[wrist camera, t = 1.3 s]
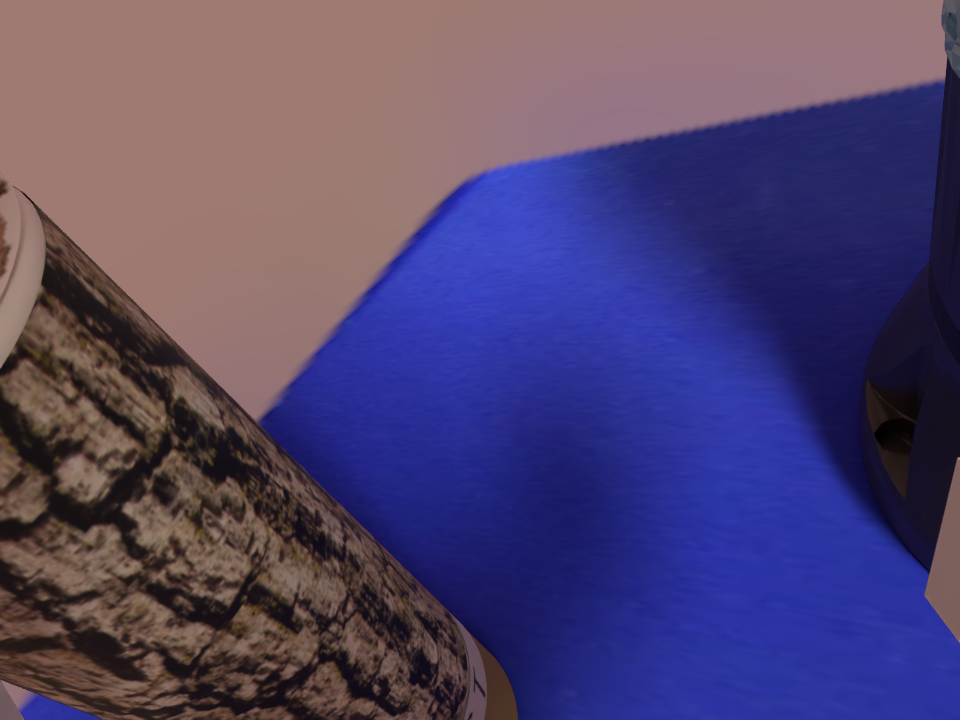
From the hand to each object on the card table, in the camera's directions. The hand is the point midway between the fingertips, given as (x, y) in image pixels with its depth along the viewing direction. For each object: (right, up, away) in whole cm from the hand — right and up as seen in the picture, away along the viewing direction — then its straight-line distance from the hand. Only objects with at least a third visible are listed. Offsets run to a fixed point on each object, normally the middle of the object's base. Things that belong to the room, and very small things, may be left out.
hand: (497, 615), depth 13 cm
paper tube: (-2, -10, +20) cm, 23 cm away
